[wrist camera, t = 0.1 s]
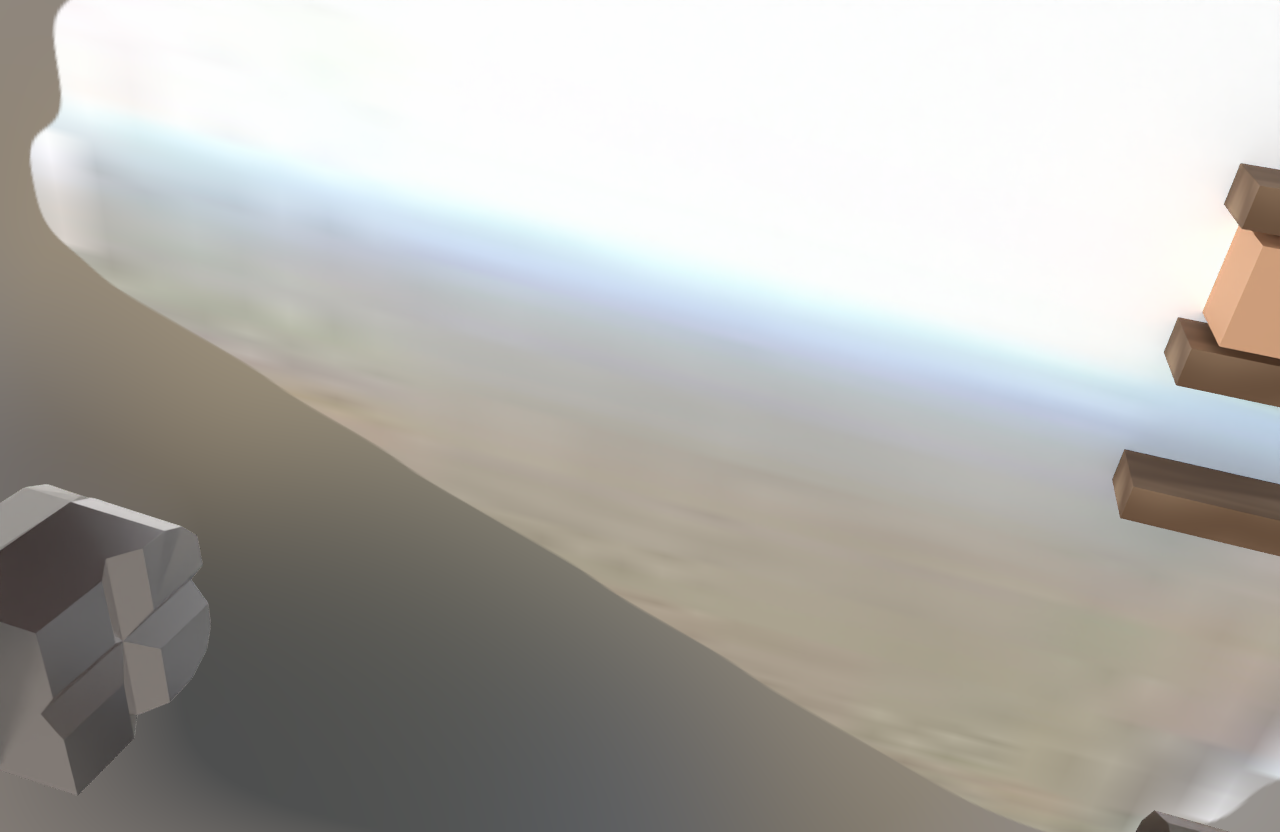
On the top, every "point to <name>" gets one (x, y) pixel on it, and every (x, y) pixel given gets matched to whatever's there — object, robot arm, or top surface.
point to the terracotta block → (1248, 295)
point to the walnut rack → (1198, 362)
